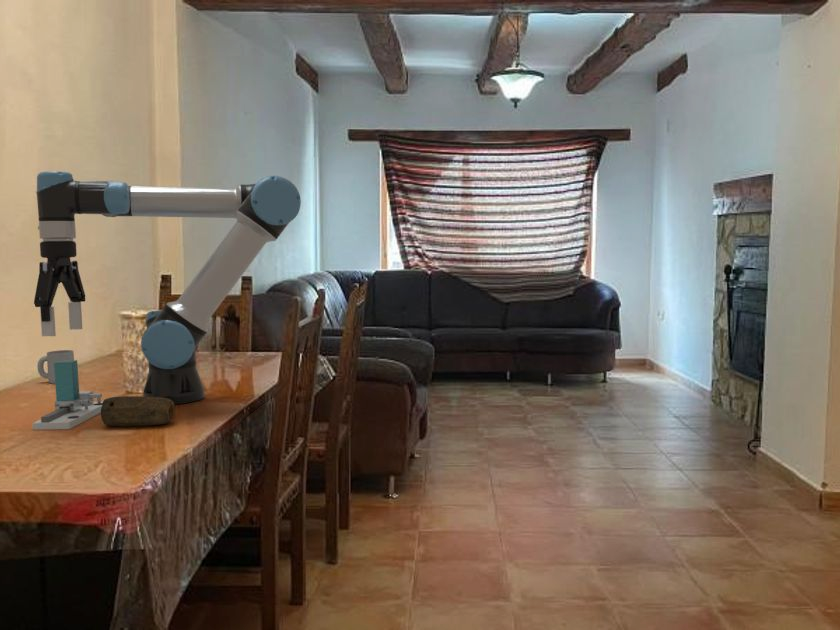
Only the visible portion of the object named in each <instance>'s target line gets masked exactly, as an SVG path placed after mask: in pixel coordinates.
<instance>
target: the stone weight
mask: <svg viewBox="0 0 840 630" xmlns="http://www.w3.org/2000/svg"><path fill="white" fill-rule="evenodd" d="M102 402H103V404H102V408H101V413H100V418H101V420H102V423H103V424H104V425H106V426H110V427H126V428H128V427H150V426H158V425H159V426H160V425H165V424H168V423H170V422H172V421H173V420H174V419H175V415H176V414H175V412H176V408H175V407H176V405H175V404H174V402H173V401H172V400H170V399H167V398H161V397H146V396H143V395H141V396H139V395H138V396H137V395H135V396H130V395H128V396H127V395H125V396H123V395H122V396H121V395H120V396H113V397H112V396H111V397H107V398H104V400H103V401H102Z"/></svg>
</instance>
